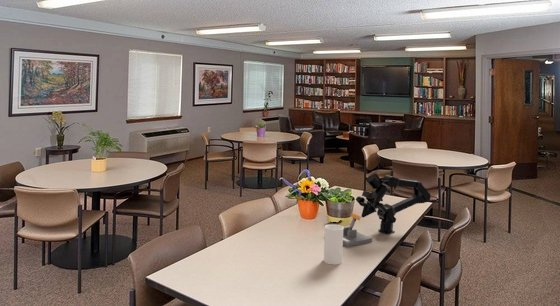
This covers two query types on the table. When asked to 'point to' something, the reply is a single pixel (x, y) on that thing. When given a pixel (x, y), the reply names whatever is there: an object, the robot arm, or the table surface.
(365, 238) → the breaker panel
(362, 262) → the table surface
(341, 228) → the cup
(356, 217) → the lever
